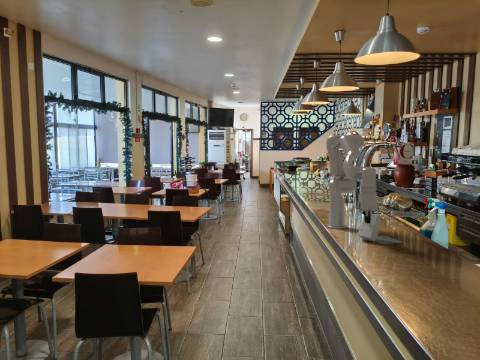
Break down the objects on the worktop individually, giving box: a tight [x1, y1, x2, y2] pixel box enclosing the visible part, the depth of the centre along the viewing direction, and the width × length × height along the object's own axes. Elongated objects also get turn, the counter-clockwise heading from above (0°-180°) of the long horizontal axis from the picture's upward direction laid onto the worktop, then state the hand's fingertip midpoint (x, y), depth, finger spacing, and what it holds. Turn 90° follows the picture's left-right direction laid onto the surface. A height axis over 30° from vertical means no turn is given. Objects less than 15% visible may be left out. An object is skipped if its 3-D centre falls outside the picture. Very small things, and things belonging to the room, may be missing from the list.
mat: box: [375, 235, 404, 245], centre depth 210 cm, size 16×13×1 cm
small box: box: [357, 215, 383, 243], centre depth 209 cm, size 8×6×13 cm
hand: (367, 222), depth 206 cm, fingers closed
